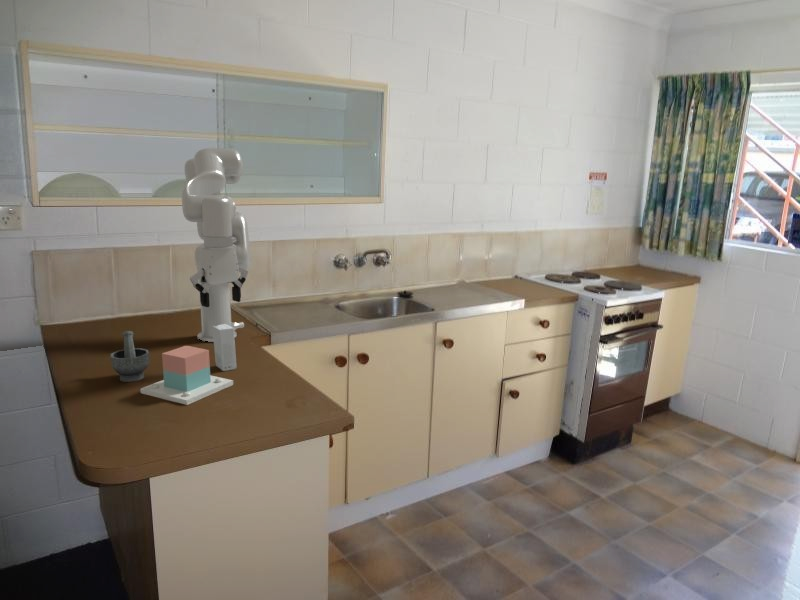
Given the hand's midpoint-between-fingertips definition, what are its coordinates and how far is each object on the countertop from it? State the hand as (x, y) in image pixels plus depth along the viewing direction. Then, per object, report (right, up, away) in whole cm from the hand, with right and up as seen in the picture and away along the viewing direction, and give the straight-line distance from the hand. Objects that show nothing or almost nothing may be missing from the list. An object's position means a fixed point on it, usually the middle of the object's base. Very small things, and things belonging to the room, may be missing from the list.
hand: (221, 303), depth 170 cm
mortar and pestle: (-23, -20, -5) cm, 31 cm away
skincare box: (0, -18, +4) cm, 19 cm away
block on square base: (-5, -22, -13) cm, 26 cm away
